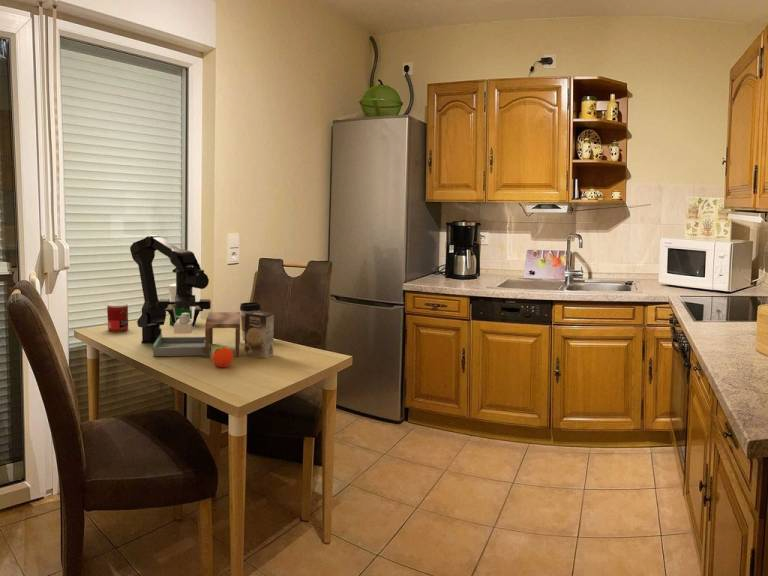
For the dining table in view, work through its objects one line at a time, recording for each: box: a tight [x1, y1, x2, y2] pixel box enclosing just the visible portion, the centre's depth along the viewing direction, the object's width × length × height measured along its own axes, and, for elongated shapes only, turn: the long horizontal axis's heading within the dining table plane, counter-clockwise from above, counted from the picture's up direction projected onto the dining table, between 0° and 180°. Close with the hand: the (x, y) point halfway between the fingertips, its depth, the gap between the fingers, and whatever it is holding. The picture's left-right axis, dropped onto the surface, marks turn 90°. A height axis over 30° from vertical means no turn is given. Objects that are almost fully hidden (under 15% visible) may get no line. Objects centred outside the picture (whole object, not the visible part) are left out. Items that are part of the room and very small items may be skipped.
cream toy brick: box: [173, 313, 196, 335], centre depth 215 cm, size 6×9×6 cm, turn 10°
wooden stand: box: [204, 311, 241, 359], centre depth 219 cm, size 12×21×12 cm, turn 14°
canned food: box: [106, 302, 129, 333], centre depth 242 cm, size 8×8×11 cm
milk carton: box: [167, 282, 193, 326], centre depth 257 cm, size 9×9×20 cm
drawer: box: [152, 334, 205, 357], centre depth 216 cm, size 18×16×4 cm
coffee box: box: [244, 310, 275, 359], centre depth 214 cm, size 9×6×16 cm
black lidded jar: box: [239, 302, 261, 341], centre depth 237 cm, size 8×8×15 cm
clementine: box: [210, 346, 234, 368], centre depth 198 cm, size 8×7×7 cm
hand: (184, 326), depth 215 cm, fingers closed on cream toy brick, 6 cm apart
